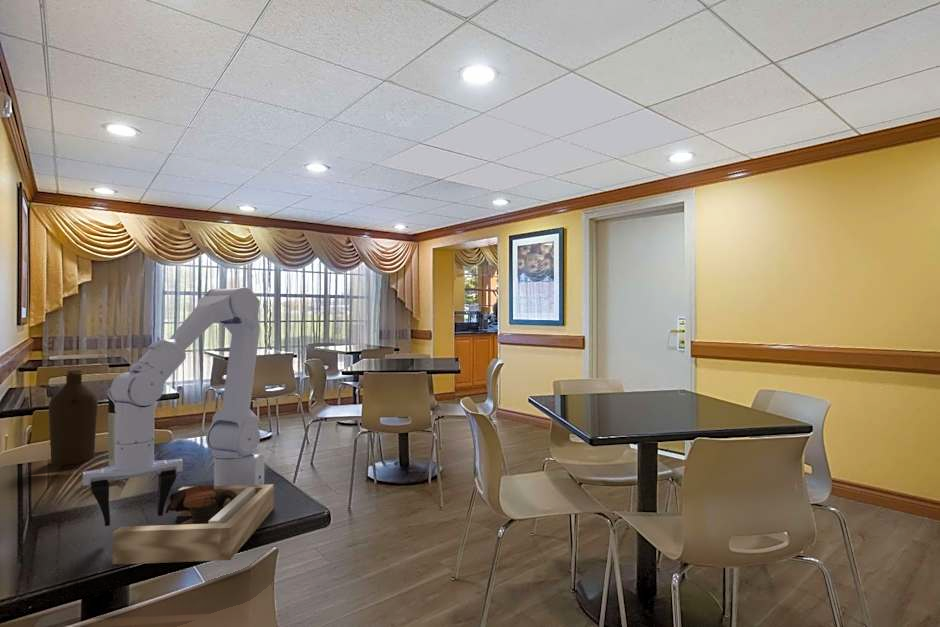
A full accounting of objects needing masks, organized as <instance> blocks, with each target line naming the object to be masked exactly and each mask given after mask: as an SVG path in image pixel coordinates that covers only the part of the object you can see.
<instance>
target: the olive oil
mask: <svg viewBox="0 0 940 627" xmlns="http://www.w3.org/2000/svg"><path fill="white" fill-rule="evenodd" d="M82 375H83V374H82V369H80V368H69V369H66V375H65V377H66V378H65V380H66V381H65V382H66V383H65V384H64V385H63V387H62V388H60V389H59V390H57V392H56V393H55V394H54V395H52V397H51V399H50V401H49V404H48V419H49V423H48V424H49V437H50V438H49V439H50V441H49V445H50V464H51V465H52V464H54V465H53V466H66V465H67V466H69V465H73V464H75V465H77V464H80V463H84V462H87V461H91V460H93V459H95V453H96V451H95V450H96V449H95V448H96V434H97V433H96V432H97V431H96V430H97V429H96V428H97V419H98V418H97V416H98V405H99V404H98V403H99V402H98V399H97V396H96V395H95V393H94V392H93V391H92V390H91V389H89V387H88V386H86V385H85V384H83V382H82V380H83V379H82V378H83V376H82Z"/></svg>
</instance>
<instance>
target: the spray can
mask: <svg viewBox="0 0 940 627" xmlns="http://www.w3.org/2000/svg"><path fill="white" fill-rule="evenodd" d="M107 409H108V410H107V414H108V420H107V421H108V422H107V423H108V424H107V426H108V433H107V434H108V435H107V436H108V437H107V438H108V440H107V441H108V444H107V445H108V451H107V452H108V456H107V457H108V462H107V463H108V467H113V466H115V433H116V412H115V405H114V403H113V401H112V400H111V399H110V398H109V397H108V408H107Z"/></svg>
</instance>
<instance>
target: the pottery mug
mask: <svg viewBox="0 0 940 627" xmlns="http://www.w3.org/2000/svg"><path fill="white" fill-rule="evenodd" d="M189 487H190V488H187V489H183V490H180V491H178V490H177V491H176V492H174V493H172V494H170V495H169V501H170V502H169V504H168V505H167V507H166V509H165V512H164V513H165V514H168V513H169V511H170V512H179V511H190V512H191V515H192V516H191V518H190V519H188V520H185V521H183V522H181V523H180V525H186V524H209V520H210V519H211V518H213V517H214V516H215V515H216V514H217V513H218V512H219V511H221V510H222V509H223V508H224V507H223V503H224V502H225V500H226V499H227V498H230V502H231V501H232V500H233V499H234V498H235V497H237V494H236V493H235V492H234V491H232V490H225V491H222V492H216V491H214V484H201V485H200V484H199V485H195V486H189ZM214 498H215V500H216V502H215V503H213V500H212V499H214Z"/></svg>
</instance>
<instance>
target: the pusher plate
mask: <svg viewBox="0 0 940 627" xmlns="http://www.w3.org/2000/svg"><path fill="white" fill-rule="evenodd" d="M253 496H255V487H247V488H246V489H245V490H244V491H242V492H241V493H240V494H239V495H238V496H237V497H235V498H234V499H233V500H232V501H231V502H230V503H229V504H227V505H226V506H225V507H224V508H223V509H222V510H221V511H219V512H218V513H217V514H216V515H215V516H214V517H213V518H211V519H210V520H209V524H216V523H226V522H227V521H228V520H229V519H230V518H231V517H233V516H234V515H235V514H236V513H237V512H238V511H239V510H240V509H241V508H242V507H243V506H244V505H245V504H246V503H247V502H248V501H249V500H250V499H251V498H252V497H253Z"/></svg>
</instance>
